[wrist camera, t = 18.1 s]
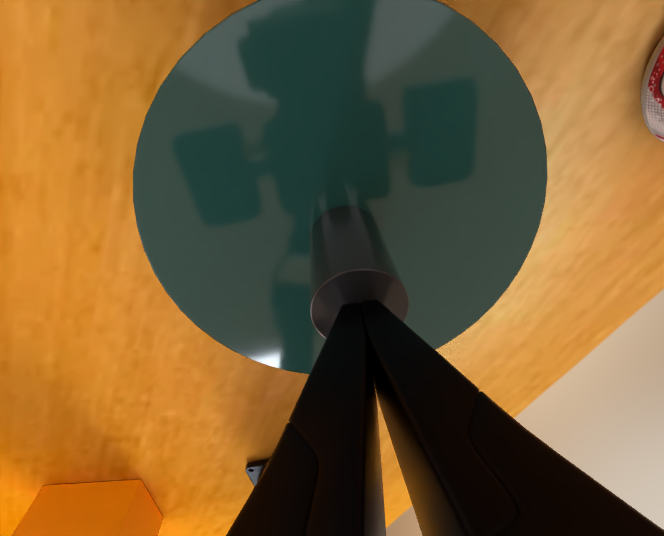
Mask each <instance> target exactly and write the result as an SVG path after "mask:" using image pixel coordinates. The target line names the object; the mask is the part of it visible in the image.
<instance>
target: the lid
mask: <svg viewBox="0 0 664 536" xmlns="http://www.w3.org/2000/svg"><path fill="white" fill-rule="evenodd" d="M546 185H547V156H546V146H545V140H544V135H543V130H542V125H541V121H540V118H539V115H538V112H537V110H536V107H535V104H534V101H533V98H532V96H531V93H530V92H529V90H528V88H527V86H526V84H525V83H524V81H523V79H522V77H521V75H520V74H519V72H518V70H517V68H516V67H515V66H514V64H513V63H512V62H511V61H510V59H509V58H508V57H507V55H506V54H505V53H504V52H503V50H502V49H501V48H500V47H499V45H498V44H497V43H496V42H495V41H494V40H493V39H491V38H490V37H489V36H488V35H487V34H486V33H485V32H484V31H483V30H481V29H480V28H479V27H478V26H477V25H476V24H475V23H474V22H473V21H471V20H469V19H468V18H466V17H465V16H463V15H461V14H460V13H458V12H457V11H455V10H453V9H452V8H450V7H449V6H447V5H445V4H444V3H442V2H439V1H437V0H258V1H256V2H254V3H252V4H250V5H248V6H246V7H244V8H242V9H240V10H238V11H236V12H234V13H232V14H231V15H229V16H228V17H227V18H225V19H224V20H222V21H221V22H220V23H218V24H217V25H216V26H214V27H213V28H211V29H210V30H209V31H207V32H206V33H205V34H203V35H202V36H201V37H200V38H199V39H198V41H197V42H196V43H195V44H194V45H193V46H192V47H191V48H190V49H189V50H188V51H187V52H186V53H185V54H184V55H183V56H182V57H181V58H180V59H179V60H178V62H177V63H176V64H175V66H174V67H173V69H172V70H171V72H170V73H169V74H168V76H167V77H166V79H165V80H164V81H163V83H162V84H161V86H160V88H159V90H158V92H157V94H156V96H155V98H154V100H153V102H152V104H151V106H150V108H149V110H148V112H147V114H146V117H145V120H144V124H143V127H142V130H141V133H140V137H139V140H138V143H137V149H136V156H135V163H134V170H133V202H134V209H135V215H136V222H137V228H138V231H139V234H140V238H141V241H142V244H143V248H144V251H145V253H146V255H147V258H148V260H149V262H150V264H151V266H152V269H153V271H154V273H155V275H156V276H157V278H158V279H159V281H160V283H161V284H162V286H163V287H164V289H165V291H166V292H167V294H168V295H169V296H170V297H171V299H172V300H173V301H174V302H175V304H176V305H177V306H178V307H179V309H180V310H181V311H182V312H183V313H184V314H185V315H186V316H187V317H188V318H189V319H190V320H191V321H192V322H193V323H194V324H195V325H196V326H198V327H199V328H200V329H201V330H203V331H204V332H205V333H207V334H208V335H209V336H210V337H212V338H213V339H214V340H216V341H218V342H219V343H221V344H223V345H224V346H226V347H227V348H229V349H231V350H232V351H235V352H237V353H239V354H241V355H243V356H245V357H247V358H249V359H251V360H254V361H257V362H260V363H262V364H265V365H268V366H271V367H275V368H279V369H283V370H287V371H292V372H298V373H305V374H310V373H311V371H312V368H313V366H314V364H315V362H316V360H317V358H318V356H319V353H320V351H321V349H322V347H323V345H324V343H325V340H326V338H327V336H328V334H329V332H330V330H331V327H332V325H333V323H334V321H335V319H336V317H337V314H338V312H339V310H340V308H341V306H342V305H344V304H350V303H356V302H357V303H359V304H360V303H361V302H362V301H367V300H373V299H377V300H379V301H380V302H381V303H382V304H383V305H384V306H386V307H387V308H388V309H389V310H390V311H391V312H392V313H393V314H395V315H396V316H397V317H398V318H399V319H400V320H401V321H403V322H404V323H405V324H406V325H407V326H408V327H409V328H411V329H412V330H413V331H414V332H415V333H416V334H417V335H418V336H420V337H421V338H422V339H423V340H424V341H425V342H426V343H428V344H429V345H430V346H431V347H432V348H433V349H434V350H435V349H437V348H439V347H441V346H443V345H445V344H446V343H448V342H449V341H451V340H452V339H454V338H455V337H457V336H458V335H460V334H461V333H463V332H464V331H465V330H466V329H468V328H469V327H470V326H472V325H473V324H474V323H475V322H477V321H478V320H479V319H480V318H481V317H482V316H483V315H484V314H485V313H486V312H487V311H488V310H489V309H490V308H491V307H492V306H493V305H494V304H495V303H496V302H497V300H498V299H499V298H500V297H501V296H502V294H503V293H504V292H505V291H506V290H507V288H508V287H509V285H510V284H511V282H512V281H513V279H514V278H515V276H516V275H517V273H518V272H519V270H520V269H521V267H522V265H523V263H524V261H525V259H526V257H527V255H528V253H529V251H530V249H531V247H532V244H533V241H534V239H535V236H536V233H537V231H538V228H539V225H540V220H541V216H542V212H543V208H544V203H545V195H546Z"/></svg>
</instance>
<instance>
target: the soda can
mask: <svg viewBox="0 0 664 536" xmlns="http://www.w3.org/2000/svg"><path fill="white" fill-rule="evenodd" d="M641 106H642V113H643V117H644V121H645V124H646V126H647V127H648V129H649V131H650V132H651V133H652V134H653V135H654V136H655V137H656V138H657V139H659V140H660V141H662V142H664V36H663V37H662V39H661V40H660V42H659V44H658V45H657V47H656V48H655V50H654V52H653V54H652V56H651V58H650V60H649V62H648V65H647V67H646V70H645V73H644V76H643V80H642V85H641Z"/></svg>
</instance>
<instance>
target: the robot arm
mask: <svg viewBox="0 0 664 536" xmlns="http://www.w3.org/2000/svg"><path fill="white" fill-rule="evenodd" d="M374 384H375V385H374ZM375 389H376V391H375ZM376 393H377V397H378V400H379V404H380V407H381V410H382V413H383V416H384V419H385V422H386V425H387V428H388V431H389V434H390V437H391V440H392V443H393V446H394V450H395V453H396V456H397V459H398V462H399V465H400V468H401V471H402V474H403V477H404V480H405V483H406V486H407V489H408V492H409V495H410V498H411V501H412V504H413V507H414V510H415V513H416V516H417V519H418V522H419V526H420V529H421V531H422V535H423V536H664V530H663V529H661V528H660V527H659V526H657V525H656V524H654V523H653V522H652V521H650V520H649V519H647V518H646V517H644V516H643V515H642V514H641V513H639V512H638V511H637V510H635V509H634V508H632V507H631V506H630V505H628V504H627V503H626V502H624V501H623V500H621V499H620V498H619V497H617V496H616V495H615V494H613V493H612V492H611V491H609V490H608V489H606V488H605V487H604V486H602V485H601V484H599V483H598V482H597V481H595V480H594V479H593V478H591V477H590V476H589V475H587V474H586V473H584V472H583V471H582V470H580V469H579V468H578V467H576V466H575V465H574V464H572V463H571V462H569V461H568V460H566V459H565V458H564V457H563V456H561V455H560V454H558V453H557V452H556V451H554V450H553V449H552V448H551V447H549V446H548V445H547V444H545V443H544V442H542V441H541V440H540V439H539V438H537V437H536V436H535V435H533V434H532V433H531V432H529V431H528V430H526V429H525V428H524V427H523V426H522V425H521V424H519V423H518V422H517V421H516V420H515V419H513V418H512V417H511V416H510V415H509V414H508V413H506V412H505V411H504V410H503V409H502V408H500V407H499V406H498V405H497V404H496V403H495V402H493V401H492V400H491V399H490V398H489V397H488V396H487V395H486V394H484V393H483V392H479V389H478V388H477V387H476V386H475V385H474V384H473V383H472V382H471V381H469V380H468V379H467V378H466V377H465V376H464V375H463V374H462V373H460V372H459V371H458V370H457V369H456V368H455V367H454V366H452V365H451V364H450V363H449V362H448V361H447V360H446V359H445V358H443V357H442V356H441V355H440V354H439V353H438V352H437V351H435V350H434V349H433V348H432V347H431V346H430V345H429V344H428V343H426V342H425V341H424V340H423V339H422V338H421V337H420V336H418V335H417V334H416V333H415V332H414V331H413V330H412V329H411V328H409V327H408V326H407V325H406V324H405V323H404V322H403V321H401V320H400V319H399V318H398V317H397V316H396V315H395V314H393V313H392V312H391V311H390V310H389V309H388V308H387V307H386V306H384V305H383V304H382V303H381V302H380V301H379V300H377V299H373V300H367V301H362V302H361V303H360V304H359V303H357V302H356V303H350V304H344V305H342V306H341V308H340V310H339V312H338V314H337V317H336V319H335V321H334V323H333V325H332V327H331V330H330V332H329V334H328V336H327V338H326V340H325V343H324V345H323V347H322V349H321V351H320V353H319V356H318V358H317V360H316V362H315V364H314V366H313V368H312V371H311V373H310V375H309V377H308V379H307V381H306V384H305V386H304V388H303V390H302V392H301V394H300V397H299V399H298V401H297V403H296V405H295V407H294V410H293V412H292V414H291V416H290V418H289V423H287V424H286V426H285V429H284V431H283V433H282V435H281V437H280V439H279V442H278V444H277V446H276V448H275V450H274V452H273V454H272V456H271V458H270V460H265V461H259V462H252V463H248V464H247V465H246V473H247V474H248V476H249V478H250V480H251V481H252V483H253V485H254V486H255V487H254V489H253V491H252V493H251V494H250V496H249V498H248V500H247V501H246V503H245V505H244V506H243V508H242V510H241V511H240V513H239V515H238V516H237V518H236V520H235V521H234V523H233V525H232V526H231V528H230V530H229V531H228V533H227V535H226V536H386V528H385V513H384V498H383V483H382V468H381V454H380V439H379V424H378V409H377V398H376Z"/></svg>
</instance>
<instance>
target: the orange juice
mask: <svg viewBox="0 0 664 536" xmlns="http://www.w3.org/2000/svg"><path fill="white" fill-rule="evenodd" d="M162 520H163V516H162V515H161V513H160V511H159V510H158V508H157V506H156V504H155V503H154V501H153V499H152V497H151V496H150V494H149V492H148V490H147V489H146V487H145V485H144V483H143V482H142V480H141V479H140V480H124V481H108V482H92V483H76V484H61V485H45V486H43V487H42V489H41V490H40V492H39V493H38V495H37V497H36V498H35V500H34V501H33V503H32V504H31V506H30V508H29V509H28V511H27V512H26V514H25V515H24V517H23V519H22V520H21V522H20V523H19V525H18V526H17V528H16V530H15V531H14V533H13V534H12V536H158V532H159V529H160V526H161V523H162Z"/></svg>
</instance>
